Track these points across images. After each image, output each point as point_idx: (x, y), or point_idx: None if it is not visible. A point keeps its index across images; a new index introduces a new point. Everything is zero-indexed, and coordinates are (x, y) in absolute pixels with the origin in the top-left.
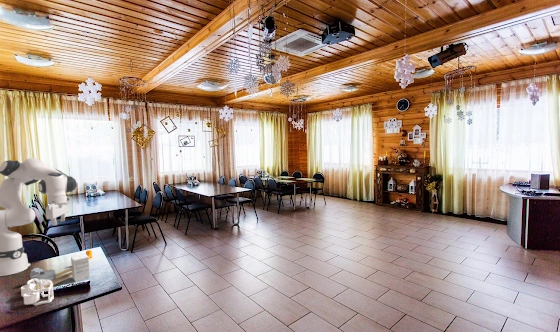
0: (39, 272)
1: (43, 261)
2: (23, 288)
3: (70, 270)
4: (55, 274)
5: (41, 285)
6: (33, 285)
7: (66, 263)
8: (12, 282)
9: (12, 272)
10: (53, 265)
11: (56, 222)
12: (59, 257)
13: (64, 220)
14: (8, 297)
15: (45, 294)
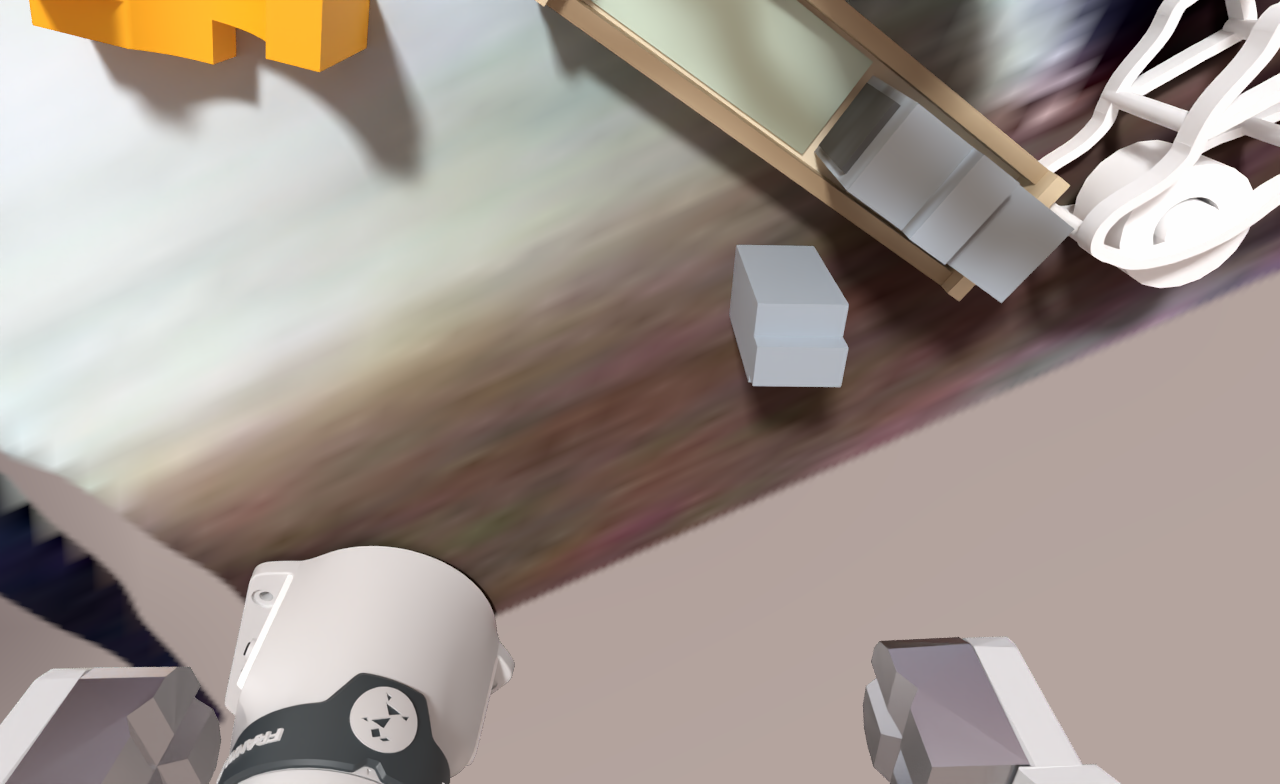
0: (827, 297)
1: (157, 505)
2: (1229, 247)
3: (605, 17)
4: (750, 141)
5: (1176, 108)
6: (1208, 178)
7: (236, 234)
8: (663, 498)
9: (470, 596)
10: (288, 354)
11: (1008, 741)
12: (29, 408)
13: (74, 675)
14: (1015, 366)
15: (1245, 10)
